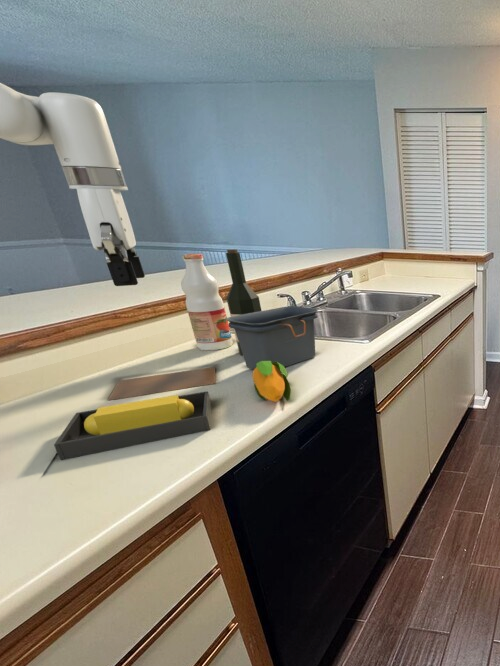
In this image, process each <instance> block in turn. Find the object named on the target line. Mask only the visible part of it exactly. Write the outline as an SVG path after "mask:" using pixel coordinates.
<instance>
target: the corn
mask: <svg viewBox="0 0 500 666" xmlns="http://www.w3.org/2000/svg"><path fill="white" fill-rule="evenodd" d="M256 365H257V367H256V368H255V369H254V370H253V371H252V380H253V385H254V391H255V392H256V394H257V396H258V397H259V398H260V399H262V400H263V401H267V400H268V401H270V402H275V403H277V402H278V401H279V400H281V399H282V398H284V400H285V401H290V399H291V395H292V394H291V393H292V388H291V385H290V382H289V380H288V376H289V375H288V371H287V370H286V367H284V366H283V365H281V364H280V363H278V362H273V363H271V361H261V362H259V363H257V364H256Z"/></svg>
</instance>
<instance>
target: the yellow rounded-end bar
mask: <svg viewBox="0 0 500 666" xmlns="http://www.w3.org/2000/svg"><path fill="white" fill-rule="evenodd" d="M178 396H179V395H178V394H174V395H168V396H161V397H154V398H150V399H144V400H136V401H132V402H124V403H119V404H113V405H106V406H101V407H98V408H97V409H98V410H97V411H96V413H94V414H92V415H90V416H88V417H87V418H86V420H85V422H84V428H85V430H86V431H87V432H88V433H90V434H92V435H95V436H97V435H103V434H108V433H113V432H119V431H124V430H129V429H135V428H140V427H145V426H151V425H156V424H161V423H167V422H172V421H177V420H183V419H188V418H190V417H191V416H192V415H193V412H194V406H193V405H192V403H191V402H189V401H188V400H185V399H179V397H178Z"/></svg>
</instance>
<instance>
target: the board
mask: <svg viewBox="0 0 500 666" xmlns="http://www.w3.org/2000/svg"><path fill="white" fill-rule="evenodd" d="M212 385H216V366H211V367H205V368H197V369H191V370H182V371H176V372H169V373H161V374H155V375H147V376H141V377H132V378H127V379H120V380H119V381H118V382H117V384H116V385H115V387H114V389H113V391H112V392H111V394H110V395H109V397H108V399H107V402H111V401H117V400H125V399H131V398H136V397H143V396H150V395H155V394H161V393H167V392H174V391H180V390H181V391H182V390H187V389H194V388H199V387H205V386H212Z"/></svg>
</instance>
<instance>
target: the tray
mask: <svg viewBox="0 0 500 666" xmlns="http://www.w3.org/2000/svg"><path fill="white" fill-rule="evenodd" d="M178 397H179V399H185V400H188V401H189V402H191V403H192V405H193V406H194V412H193V415H192V416H191V417H190V418H188V419H183V420H177V421H172V422H167V423H161V424H156V425H151V426H145V427H140V428H135V429H129V430H124V431H119V432H113V433H108V434H103V435H97V436H95V435H92V434H90V433H88V432H87V431H86V430H85V428H84V422H85V420H86V418H87V417H88V416H90V415H92V414H94V413H96V411H97V410H98V408H97V409H91V410H84V411H79V412H78V411H77V412H76V413H75V414H74V415H73V416H72V419H70V421H69V422H68V424H67V425H66V427H65V428H64V430H63V431H62V432H61V434H60V436H59V437H58V438H57V440H56V441H55V442H54V444H53V446H54V449H55V451H56V453H57V455H58V457H59V459H60V461H64V460H65V461H66V460H69V459H76V458H79V457H84V456H90V455H95V454H100V453H104V452H110V451H113V450H119V449H124V448H130V447H134V446H139V445H144V444H148V443H153V442H158V441H163V440H167V439H174V438H178V437H182V436H187V435H192V434H197V433H202V432H208V431H211V425H212V400H211V397H210V393H209V391H208V390H207V391H206V390H205V391H200V392H195V393H188V394H182V395H178Z"/></svg>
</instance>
